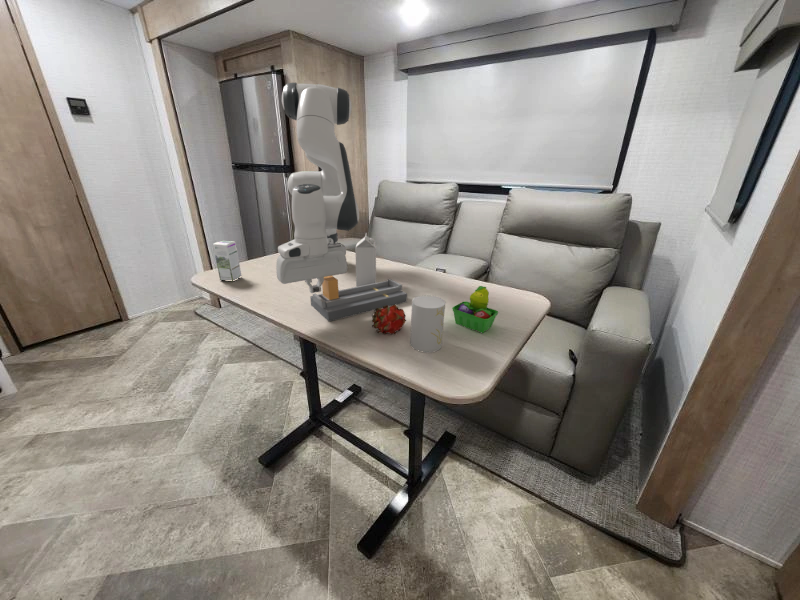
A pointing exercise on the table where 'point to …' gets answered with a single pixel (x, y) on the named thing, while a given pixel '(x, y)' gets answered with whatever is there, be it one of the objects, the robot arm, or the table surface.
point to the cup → (427, 323)
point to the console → (360, 300)
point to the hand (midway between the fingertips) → (315, 291)
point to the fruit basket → (475, 311)
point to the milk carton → (365, 261)
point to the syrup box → (227, 260)
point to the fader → (330, 289)
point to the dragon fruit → (388, 319)
